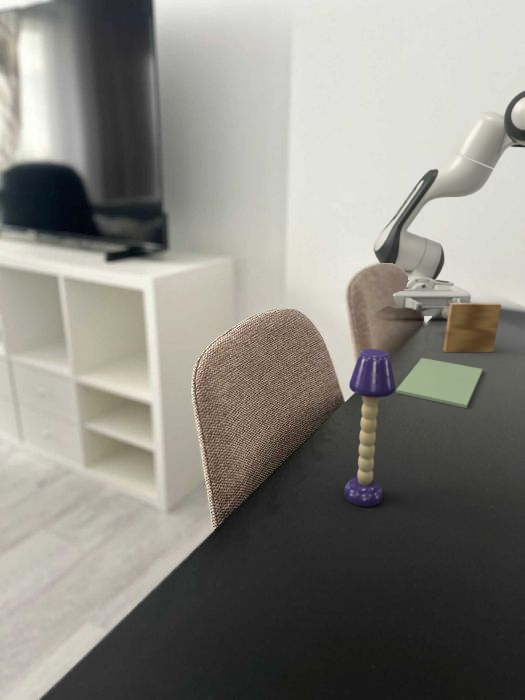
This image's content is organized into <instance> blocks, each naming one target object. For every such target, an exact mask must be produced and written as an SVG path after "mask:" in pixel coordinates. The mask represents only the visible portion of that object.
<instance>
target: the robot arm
mask: <svg viewBox="0 0 525 700" xmlns="http://www.w3.org/2000/svg"><path fill="white" fill-rule="evenodd" d="M510 147H511V148H524V149H525V90H523V91H521V92H519V93H518V94H517V95H515V96H514V97H513V98H512V99H511V101H510V102H509V103H508V105H507V107H506V109H505V112H504V113H498V112H495V111H482V112H479V113H477V114H475V115H474V116H473V118H471V120H470V121H469V122H468V124H467V125H466V126H465V128H464V129H463V131H462V132H461V134H460V136H459V137H458V139H457V140H456V142H455V144H454V146H453V148H452V149H451V152H450V154H449V155H448V157H447V158H446V159H445V161H443V163H441V165H439V166H438V167H436V168H433V169H429V170H428V171H426V172H425V174H423V176H422V177H421V178H420V179H419V181H418V182H417V183H416V184H415V186H414V187H413V189H412V190H411V191H410V193H409V194H408V195H407V197H406V198H405V200H404V201H403V203H402V204H401V205H400V207H399V209H398V210H397V211H396V213H395V214H394V216H393V217H392V219H391V220H390V221H389V223H388V224H387V225H386V226H385V227H384V228H383V229H382V231H380V233H379V235H378V236H377V238H376V240H375V242H374V245H373V252H374V255H375V257H376V259H377V261H378V262H379V263H380V264H382V263H393V264H396V265H398V266H400V267H401V268H402V269H403V270H404V271H405V272H406V273H407V275H408V280H409V281H408V283H407V286H406V287H407V288H408V289H404V291H399V292H397V293H394V294H393V296H394V300H395V303H396V305H397V308H398V309H397V310H399V309H400V310H401V309H402V310H403V309H407V310H408V309H409V310H411V309H414V310H416V311H415V312H423V311H427V310H440V309H441V310H443V309H444V308H445V307H449V306H450V303H471V301H472V295H471V293H470V292H468V291H467V290H465V289H463V288H461V287H459V286H456V285H455V284H454V282H452V281H449V280H440V279H437V278H438V277H439V276H440V274H441V272H442V270H443V267H444V266H445V251H444V248H443V246H442V244H441V243H440V242H437V241H435V240H432V239H430V238H427V237H425V236H421V235H418V234H415V233H413V232H411V231H408V229H409V227H410V226H411V225H412V224H413V222H414V220H415V219H416V218H417V217H418V215H419V214H420V212H421V211H422V209H423V208H424V207H425V206H426V205H427V204H428V203H429V202H431V201H433V200H437V199H441V198H461V197H462V198H463V197H467V196H470V195H473V194H475V193H477V192H479V191H480V190H481V189H482V188H483V187H485V184H486V183H487V182H488V180H489V179H490V177H491V175H492V174H493V171H494V169H495V168H496V166H497V164H498V162H499V160H500V158H501V157H502V156H503V154H504V152H505V151H506V150H507V149H509V148H510Z"/></svg>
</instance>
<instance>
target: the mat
mask: <svg viewBox="0 0 525 700" xmlns="http://www.w3.org/2000/svg"><path fill="white" fill-rule="evenodd" d="M483 370H484V369H483V368H479V367H473V366H468V365H462V364H457V363H453V362H446V361H440V360H435V359H430V358H424V357H421V358H420V359H419V361H417V363H416V364H415V366H414V367H413V368H412V369H411V371H410V372H409V373H408V375H406V377H405V378H404V379H403V381H402V382H401V383H400V384H399V385H398V386H397V388H395V394H401V395H404V396H409V397H414V398H417V399H422V400H427V401H432V402H435V403H441V404H445V405H450V406H454V407H459V408H463V409H467V408H468V406H469V403H470V402H471V400H472V397H473V395H474V393H475V390H476V388H477V385H478V382H479V380H480V379H481V377H482V373H483Z"/></svg>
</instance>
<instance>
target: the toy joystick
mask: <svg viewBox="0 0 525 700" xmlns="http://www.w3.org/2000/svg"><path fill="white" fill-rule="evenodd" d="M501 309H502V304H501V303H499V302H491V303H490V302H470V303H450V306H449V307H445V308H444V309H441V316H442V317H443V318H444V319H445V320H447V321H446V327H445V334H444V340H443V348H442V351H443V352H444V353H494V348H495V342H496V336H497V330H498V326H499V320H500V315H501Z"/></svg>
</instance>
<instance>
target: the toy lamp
mask: <svg viewBox="0 0 525 700" xmlns="http://www.w3.org/2000/svg"><path fill="white" fill-rule="evenodd" d="M395 382H396V381H395V376H394V370H393V366H392V360H391V356H390V354H389V353H388V351H385V350H383V349H378V348H365V349H363V350H361V351H360V353H359V354H358V357H357V359H356V362H355V365H354V368H353V371H352V374H351V377H350V380H349V386H348V387H349V389H350V390H351V391H352V392H353V393H354V394H357V395H360V396H361V397H362V406H361V408H360V409H361V418H360V423H359V424H360V432H359V435H358V436H359V441H360V443H359V445H358V455H359V456H358V460H357V466H358V469H357V475H356V477H353V478H351V479H349V481H347V483H346V485H345V487H344V489H343V495H344V498H345V499H346V500H347V501H348V502H349V503H351V504H353V505H355V506H358V507H366V508H368V507H374V506H377V505H379V504H380V503H381V502H382V501H383V497H384V494H383V489H382V487H381V485H380V484H379V483H378V482H377V481H376V480H375V479H374V470H373V469H374V466H375V459H374V456H375V452H376V446H375V443H376V438H377V434H376V430H377V426H378V420H377V416H378V413H379V408H378V407H379V406H378V403H379V401H380V398H385V397H389V396H391V395H393V394H394V393H395V392H396V383H395Z"/></svg>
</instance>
